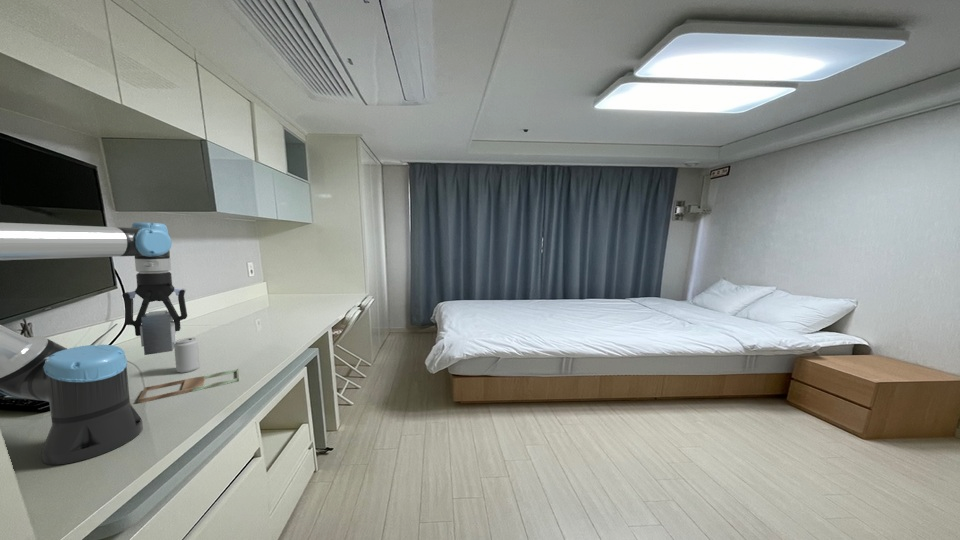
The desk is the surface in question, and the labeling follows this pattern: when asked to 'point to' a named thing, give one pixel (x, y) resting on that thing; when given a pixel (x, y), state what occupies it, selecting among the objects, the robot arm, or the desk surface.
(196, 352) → the beverage can
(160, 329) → the block
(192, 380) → the rail
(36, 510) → the desk surface
